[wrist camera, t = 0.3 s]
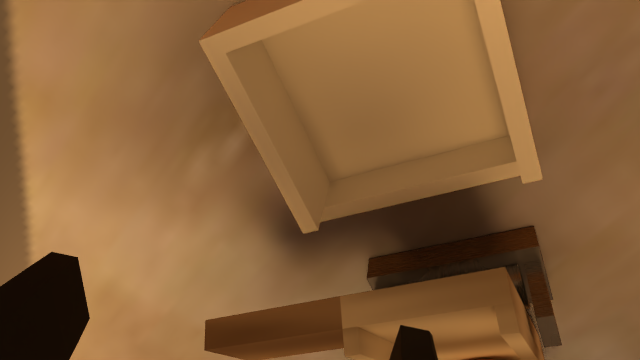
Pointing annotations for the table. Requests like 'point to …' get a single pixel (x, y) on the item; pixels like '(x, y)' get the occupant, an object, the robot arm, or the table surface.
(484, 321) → the catapult lever
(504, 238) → the pivot bracket
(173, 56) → the table surface
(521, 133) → the tray
